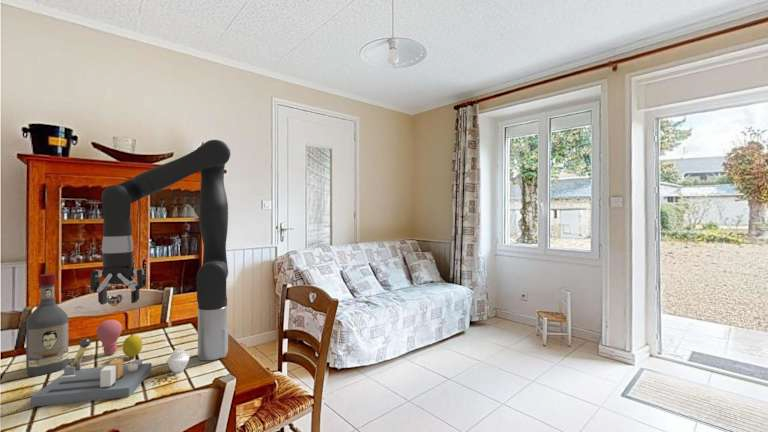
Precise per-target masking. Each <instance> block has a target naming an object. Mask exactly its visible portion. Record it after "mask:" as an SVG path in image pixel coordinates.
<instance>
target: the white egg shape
mask: <svg viewBox="0 0 768 432" xmlns="http://www.w3.org/2000/svg"><path fill="white" fill-rule="evenodd" d="M189 360H190V356H189V354H187V353H186V351H185V349H184V348H176V349H174V350H173V351H172V352H171V354H170V356H169V357H168V359H166V363H167V365H168V367H169V369H170V370H171V372H172V373H176V374H177V373H181V372H183V371H185V368H186V367H187V365H188V363H189Z"/></svg>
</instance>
